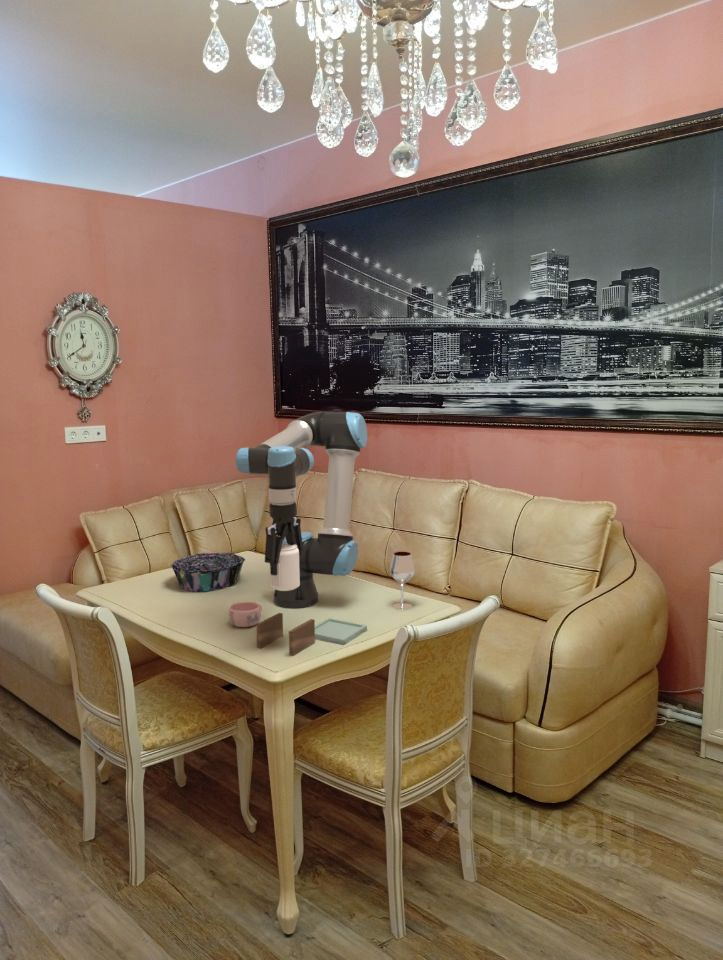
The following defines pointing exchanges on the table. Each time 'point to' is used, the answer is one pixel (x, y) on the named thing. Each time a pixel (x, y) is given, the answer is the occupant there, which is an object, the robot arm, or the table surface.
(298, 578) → the beverage can
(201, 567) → the decorative bowl
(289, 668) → the table surface
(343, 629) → the tray
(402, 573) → the wineglass
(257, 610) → the pink bowl
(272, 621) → the wooden boards
